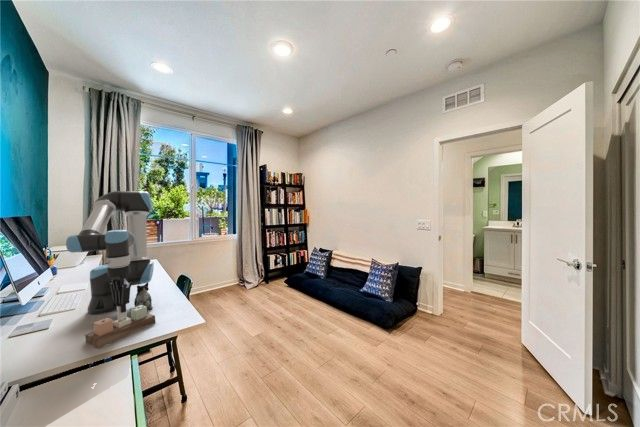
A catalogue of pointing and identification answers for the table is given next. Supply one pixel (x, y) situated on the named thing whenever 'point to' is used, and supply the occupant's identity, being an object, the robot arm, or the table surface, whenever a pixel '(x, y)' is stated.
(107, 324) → the pink toy block
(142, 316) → the tile three
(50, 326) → the table surface
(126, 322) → the tile two
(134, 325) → the board
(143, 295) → the figurine
